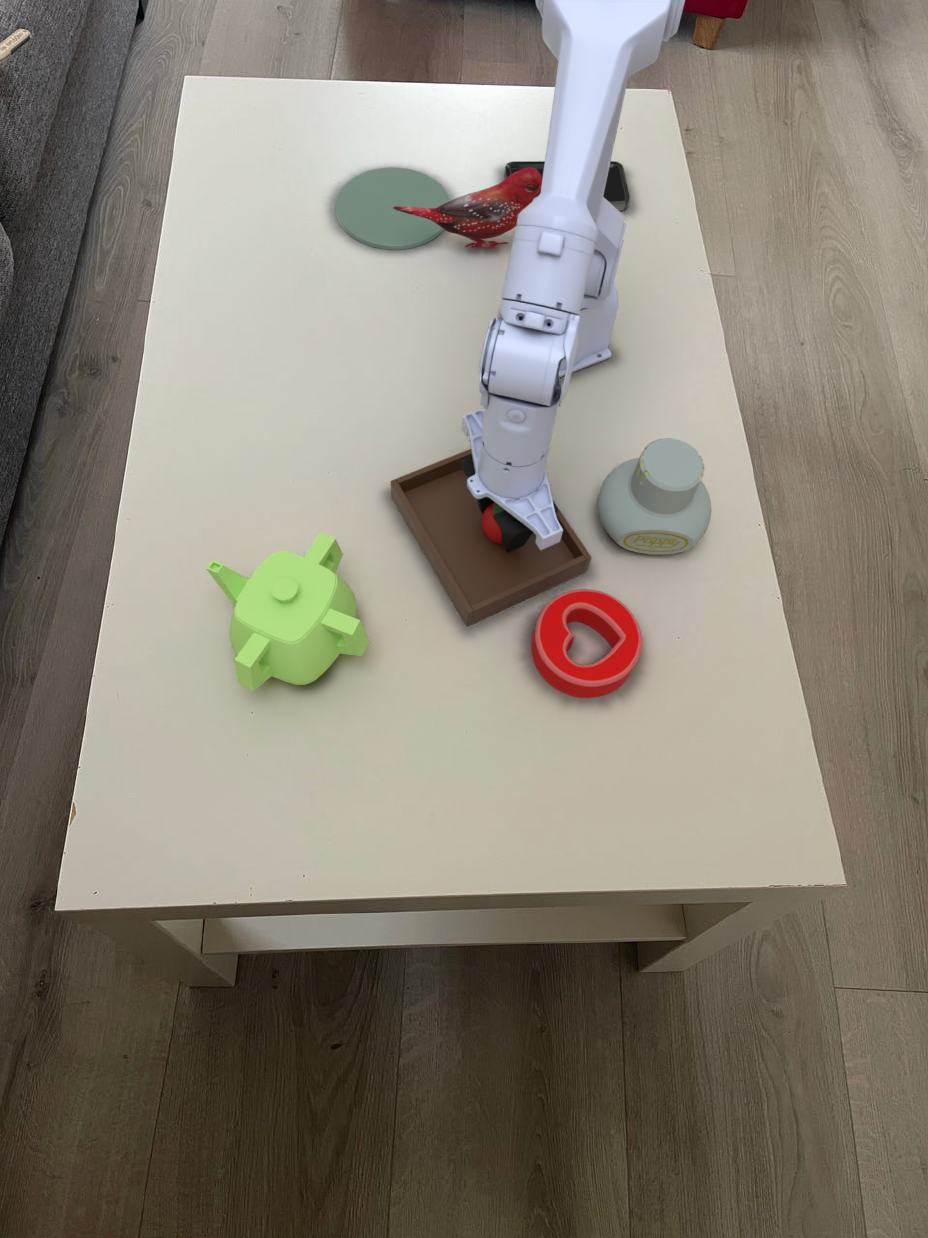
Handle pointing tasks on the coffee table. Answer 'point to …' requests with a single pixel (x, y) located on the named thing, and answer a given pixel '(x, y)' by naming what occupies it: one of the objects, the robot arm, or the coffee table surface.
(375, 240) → the plate
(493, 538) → the strawberry
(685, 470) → the air freshener
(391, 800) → the coffee table surface
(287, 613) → the teapot
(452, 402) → the coffee table surface
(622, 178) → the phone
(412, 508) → the tray
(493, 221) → the decorative bird figurine
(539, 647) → the decorative ornament
